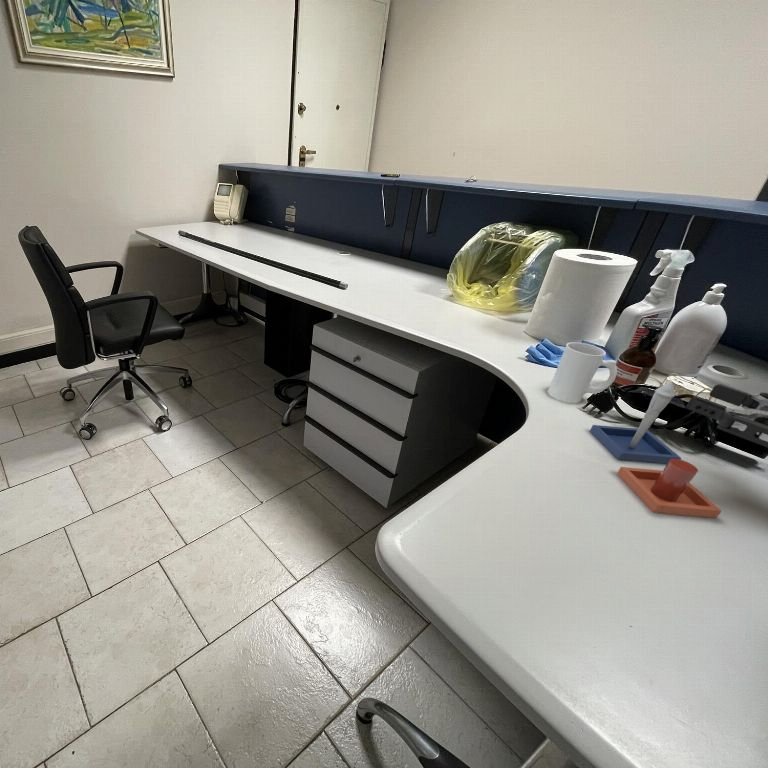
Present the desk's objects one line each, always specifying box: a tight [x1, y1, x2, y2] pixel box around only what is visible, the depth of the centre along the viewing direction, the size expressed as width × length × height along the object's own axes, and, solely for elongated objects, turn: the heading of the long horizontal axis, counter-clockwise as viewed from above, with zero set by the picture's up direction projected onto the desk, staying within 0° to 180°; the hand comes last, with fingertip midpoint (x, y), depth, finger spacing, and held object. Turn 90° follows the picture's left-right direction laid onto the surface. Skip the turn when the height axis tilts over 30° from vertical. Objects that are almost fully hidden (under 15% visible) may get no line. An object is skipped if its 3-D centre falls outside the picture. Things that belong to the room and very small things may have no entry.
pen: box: [629, 381, 676, 449], centre depth 71 cm, size 2×3×14 cm
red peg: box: [651, 459, 699, 502], centre depth 63 cm, size 3×3×6 cm
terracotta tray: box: [616, 466, 722, 519], centre depth 64 cm, size 9×9×2 cm
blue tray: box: [589, 424, 682, 465], centre depth 75 cm, size 10×9×2 cm
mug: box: [547, 341, 618, 404], centre depth 88 cm, size 10×7×12 cm, turn 49°
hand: (701, 395), depth 65 cm, fingers open, 8 cm apart
